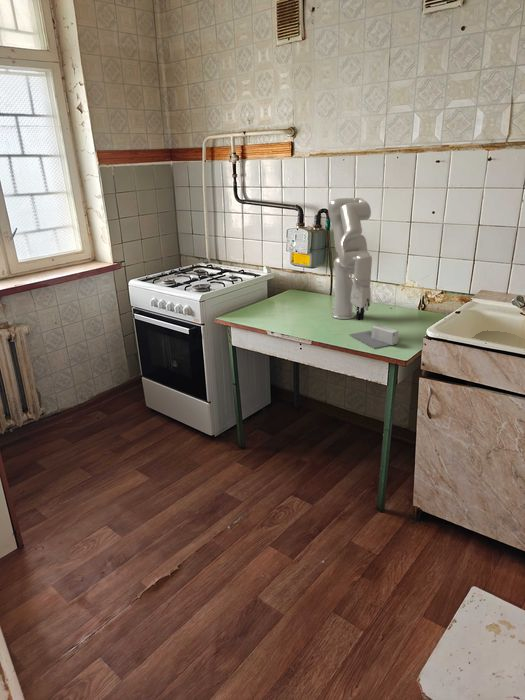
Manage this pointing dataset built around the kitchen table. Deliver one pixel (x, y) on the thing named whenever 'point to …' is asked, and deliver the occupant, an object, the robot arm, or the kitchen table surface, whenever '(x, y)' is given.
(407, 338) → the kitchen table surface
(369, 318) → the kitchen table surface
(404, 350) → the kitchen table surface
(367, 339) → the mat
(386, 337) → the skincare box
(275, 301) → the kitchen table surface
